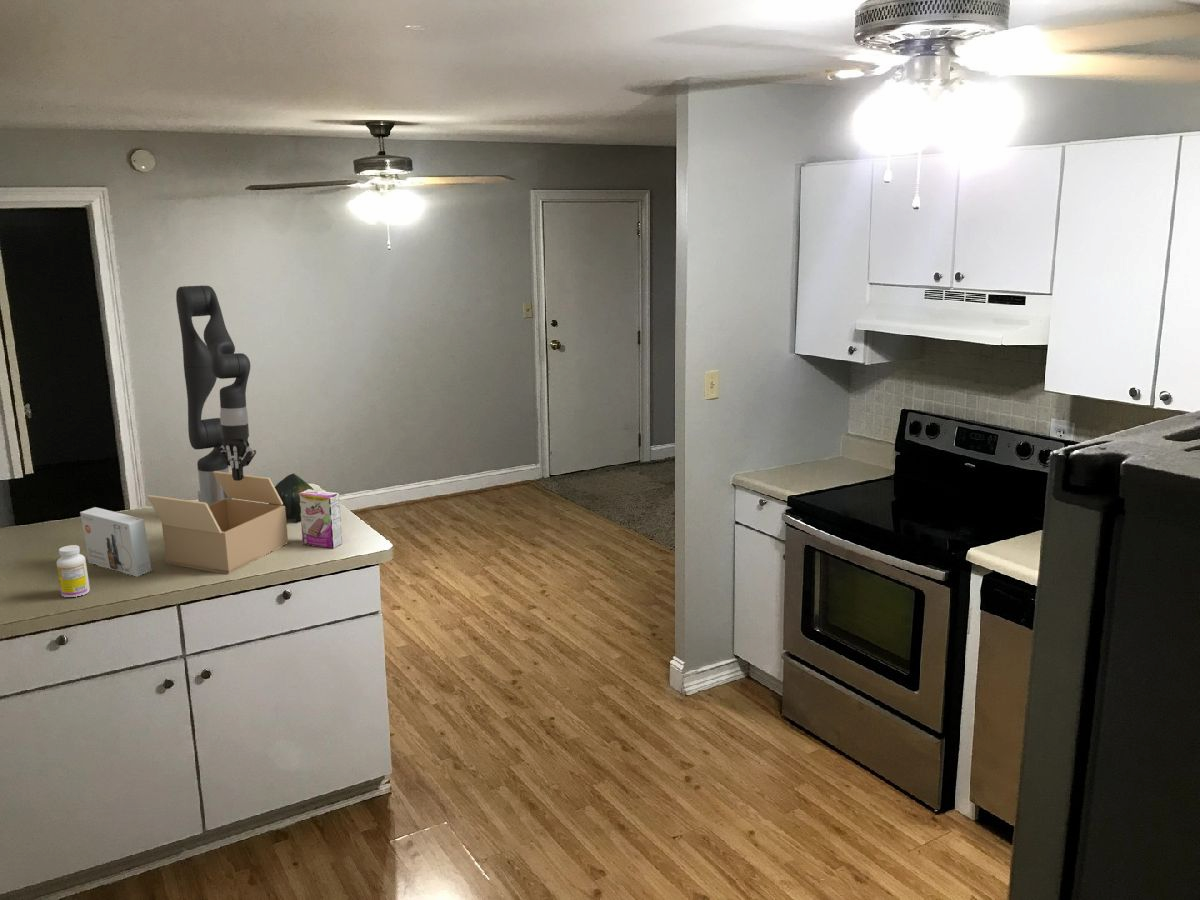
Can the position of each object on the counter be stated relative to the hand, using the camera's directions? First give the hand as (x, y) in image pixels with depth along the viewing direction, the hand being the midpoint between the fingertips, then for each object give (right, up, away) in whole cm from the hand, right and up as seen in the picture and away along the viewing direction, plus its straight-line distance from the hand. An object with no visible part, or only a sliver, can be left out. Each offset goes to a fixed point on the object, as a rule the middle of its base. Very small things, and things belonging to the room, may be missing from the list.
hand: (238, 480), depth 278 cm
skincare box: (-29, -25, -12) cm, 40 cm away
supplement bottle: (-31, -29, -30) cm, 52 cm away
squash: (+6, -13, +31) cm, 35 cm away
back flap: (+1, -3, +4) cm, 5 cm away
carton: (-2, -22, -1) cm, 22 cm away
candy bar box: (+23, -20, +7) cm, 31 cm away
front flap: (-7, -9, -19) cm, 22 cm away
